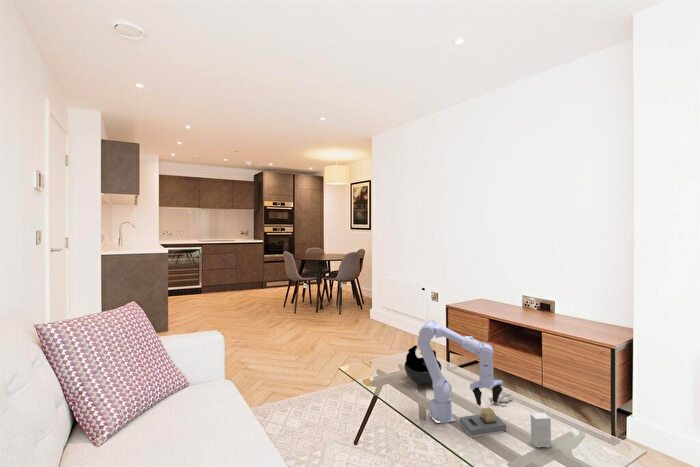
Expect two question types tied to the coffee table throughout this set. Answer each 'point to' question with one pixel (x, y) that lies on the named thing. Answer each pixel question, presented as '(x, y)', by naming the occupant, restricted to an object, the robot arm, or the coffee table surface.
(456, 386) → the coffee table surface
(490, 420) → the square bit
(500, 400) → the soldier figure
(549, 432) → the skincare box
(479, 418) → the bit holder
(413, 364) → the coal bowl
